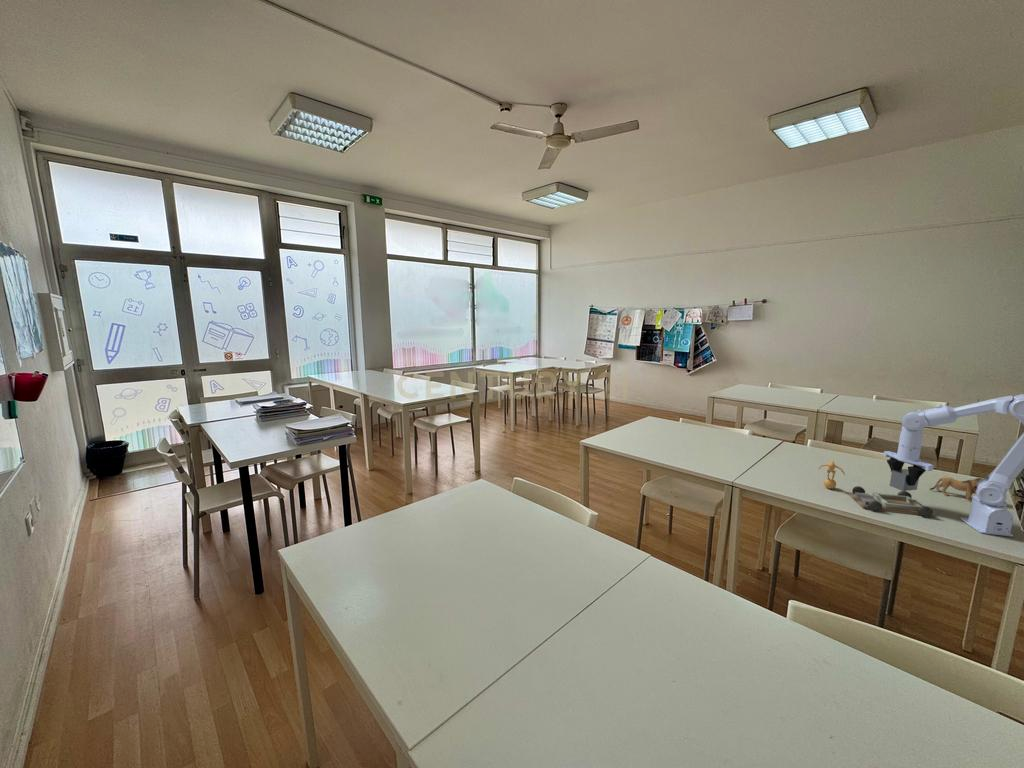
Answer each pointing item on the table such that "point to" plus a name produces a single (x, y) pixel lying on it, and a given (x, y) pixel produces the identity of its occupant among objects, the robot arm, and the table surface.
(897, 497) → the toy car chassis
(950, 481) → the lion figurine
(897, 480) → the brushed grey box
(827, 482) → the figurine
